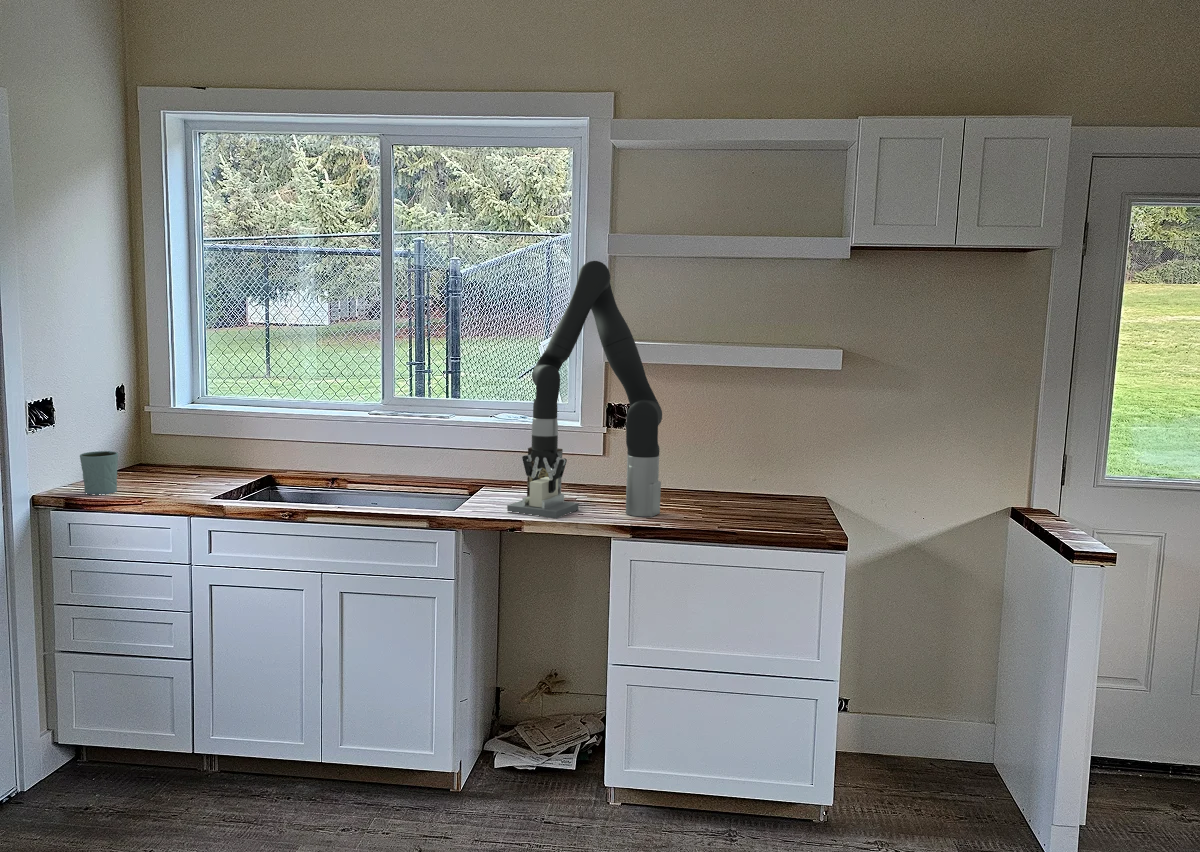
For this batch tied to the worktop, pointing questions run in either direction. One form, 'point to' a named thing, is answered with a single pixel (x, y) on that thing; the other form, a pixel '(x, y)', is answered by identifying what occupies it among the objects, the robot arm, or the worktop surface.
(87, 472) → the green cup
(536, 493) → the block
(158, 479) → the worktop surface
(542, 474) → the coffee box
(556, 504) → the book rack
